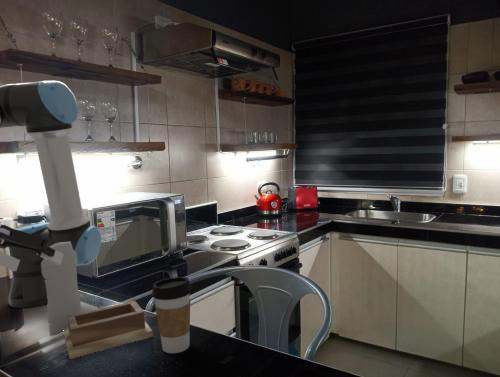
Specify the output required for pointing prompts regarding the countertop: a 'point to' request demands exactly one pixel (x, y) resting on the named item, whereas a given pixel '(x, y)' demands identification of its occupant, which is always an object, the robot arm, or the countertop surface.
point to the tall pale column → (61, 288)
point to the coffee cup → (173, 313)
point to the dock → (105, 328)
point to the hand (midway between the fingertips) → (38, 262)
